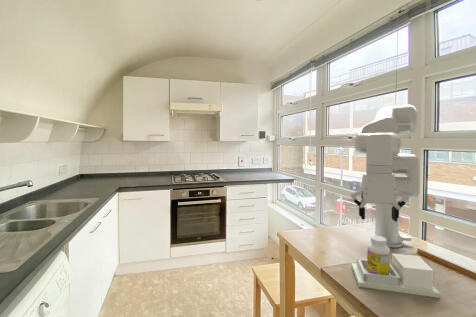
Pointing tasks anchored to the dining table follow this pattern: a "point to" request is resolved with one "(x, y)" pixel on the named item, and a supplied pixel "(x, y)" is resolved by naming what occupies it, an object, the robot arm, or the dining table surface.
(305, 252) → the dining table surface
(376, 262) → the supplement bottle
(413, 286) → the square frame tray
